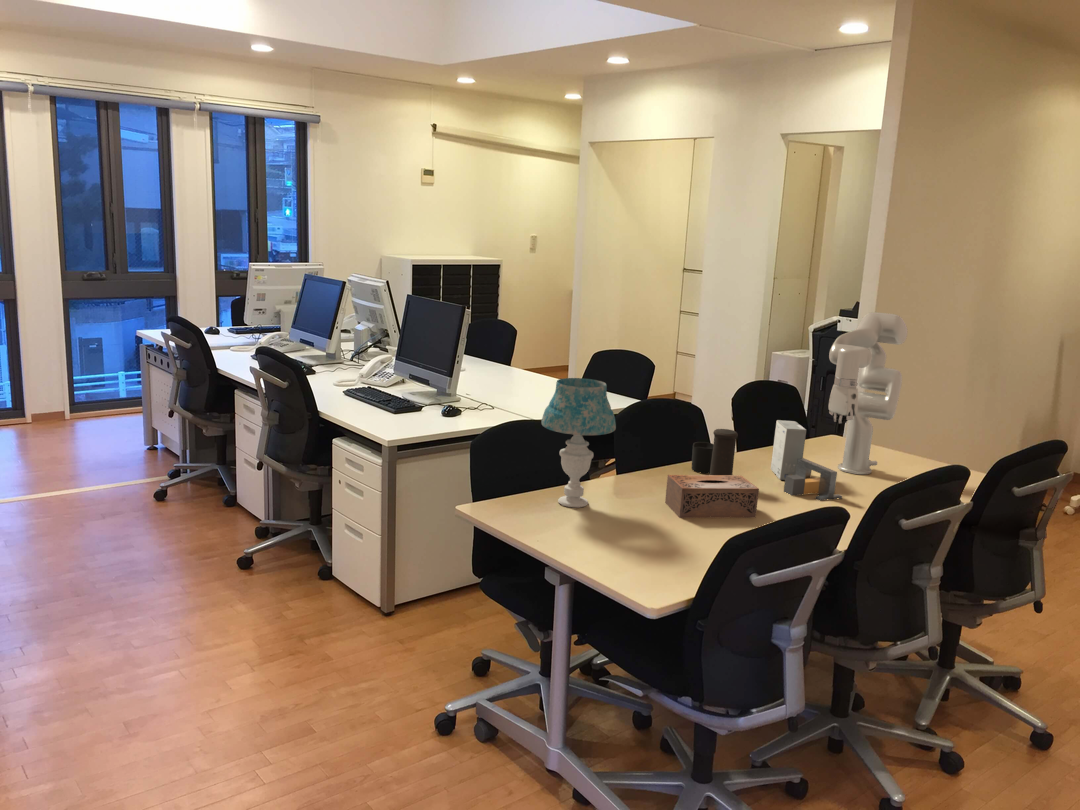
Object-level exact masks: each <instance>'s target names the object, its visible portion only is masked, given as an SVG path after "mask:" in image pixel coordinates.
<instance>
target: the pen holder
mask: <svg viewBox="0 0 1080 810" xmlns="http://www.w3.org/2000/svg"><path fill="white" fill-rule="evenodd" d="M713 444H714V443H711V442H706V441H697V442H693V444H692V452H691V453H692V455H691V470H692V471H693V470H694V471H693V472H695V471H697V472H696V473H698V472H701V473H700V474H710V468H711V460H712V452H713Z"/></svg>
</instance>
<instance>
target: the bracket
mask: <svg viewBox="0 0 1080 810" xmlns="http://www.w3.org/2000/svg"><path fill="white" fill-rule="evenodd" d="M812 471H813V472H816V473H817V474H818V473H819V474H820V475H819V478H820V482H819V490H818V493H817V495H816V496H815V498H814V499H815V500H817V501H819V500H820V501H828V500H827V499H832V500H841V499H843V495H841V494H839V493H837V494H835V490H836V483H837V475H838V471H836V470H834V469H831V468H829V467H826V466H823V465H821V464H819V463H816V462H814V461H811V460H809V459H806V458H804V457H803V458H798V460H797V468H796V475H798V476H801V477H803V478H805V479H811V478H812ZM818 495H819V496H818ZM837 498H839V499H837Z"/></svg>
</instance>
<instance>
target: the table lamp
mask: <svg viewBox="0 0 1080 810" xmlns="http://www.w3.org/2000/svg"><path fill="white" fill-rule="evenodd" d="M607 387H608V386H607V383H606V382H604V381H602V380H597V379H591V378H580V377H567V378H566V377H565V378H559V379H557V380H556V382H555V390H554V394H553V396H552V397H551V399H550V400H549V403H548V405H547V406H546V407H545V409H544V411H543V414H542V417H541V425H542V427H544V428H545V429H547V430H549V431H552V432H555V433H556V432H557V433H561V434H566V435H573V436H572V437H571V438H570V439H567V440H565V445H567V446H565V448H561V449H560V450H559V456H560V464H561V468H562V470H563V472H564V473H565V474H566V475H568V478H569V480H568V483H567V484H566V485H564V488H563V489H564V490H563V493H564V495H563V496H560V497H559V498H558V500H557V502H558V503H559V504H560V505H561V506H564V507H567V508H574V509H575V508H583V507H586V506H587V505H589V501H588V499H587V498H585V497H583V496H584V489H585V488H584V486H583V485H581V484H582V483H581V482H580V479H581V478H582V477H583V476H585V475H586V474H587V472H589V470H590V467H591V462H592V459H594V452H593V451H592V450H590V449H589V448H588V447H589V445H590V442H589V441H587V440H585V439H584V436H601V435H607V434H608V435H609V434H611V433H613V432H615V431H616V430H617V422H616V417H615V413H614V411H613V409H612V407H611V404H610V402H609V399H608V393H607V390H608V389H607Z"/></svg>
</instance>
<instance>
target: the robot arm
mask: <svg viewBox="0 0 1080 810" xmlns="http://www.w3.org/2000/svg"><path fill="white" fill-rule="evenodd" d="M907 337H908V327H907V324H906V322H905V320H904V319H903V317H901V316H900V315H898V314H894V313H886V312H876V311H875V312H873V311H872V312H868V313H866V314H865V315H864V316H863V317H862V319H861V320H860V322H859V323H858V325H857V327H856V329H854V330H851V331H848V332H845V333H843V334H840V335H839V336H837V338H836V339H835V340H834V342H832V345H831V347H830V349H829V353H828V354H829V355H828V358H829V361H830V363H832V364H834V365H836V368H835V375H834V383H833V385H832V388H831V392H830V395H829V400H828V410H829V411H828V413H829V414H830V415H831V416H832V417H833V422H834V426H833V434H836V435H844V433H845V432H844V431H845V425H846V424H847V429H846V435H845V443H844V444H845V445H844V450H843V457H842V458H843V459H842V462H841V463H839V464H837V469H839V470H840V471H842V472H846V473H848V474H854V475H869V474H871V473H872V470H873V469H872V468H871V466H873V467H874V466H877V465H878V461H877V460H870V453H871V447H872V440H873V433H874V426H873V424H872V421H871V420H870V419H877V420H883V421H891V420H892V419H894V417H895V415H896V412H897V408H898V402H899V398H900V393H901V390H902V384H903V375H902V373H901V371H900V370H899V369H896V368H892V367H891V368H889V367H885V365H886V361H887V353H886V351H885V350H884V348H883V347H882V345H881V344H889V345H902V344H904V343H905V341H906V340H907ZM857 386H859V388H861V389H863V390H867V391H859V389H858V388H857ZM868 391H874V392H868ZM875 392H880V393H875ZM882 393H885V394H882Z"/></svg>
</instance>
